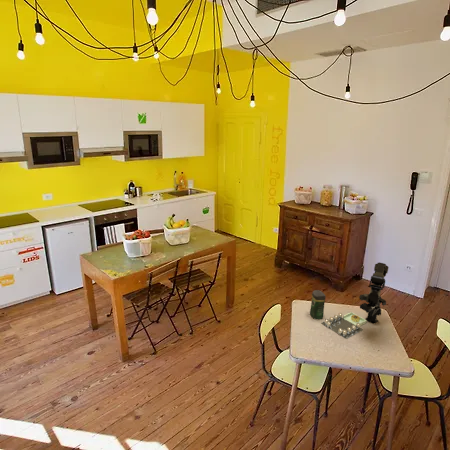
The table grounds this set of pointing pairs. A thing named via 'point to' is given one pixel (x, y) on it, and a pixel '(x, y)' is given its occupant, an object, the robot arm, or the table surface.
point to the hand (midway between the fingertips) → (371, 316)
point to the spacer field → (342, 326)
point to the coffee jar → (317, 304)
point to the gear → (355, 318)
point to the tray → (348, 318)
